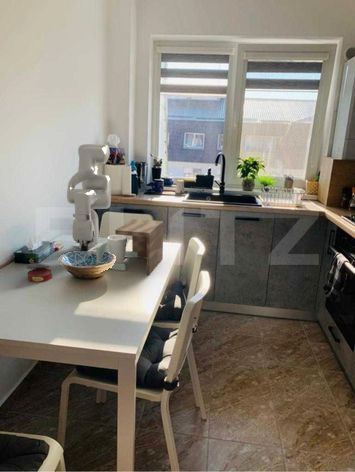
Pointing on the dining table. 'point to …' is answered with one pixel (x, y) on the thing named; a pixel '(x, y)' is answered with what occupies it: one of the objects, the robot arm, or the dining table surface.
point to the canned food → (39, 272)
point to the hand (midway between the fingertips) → (84, 252)
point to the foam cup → (117, 247)
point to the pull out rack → (103, 247)
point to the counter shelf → (145, 240)
